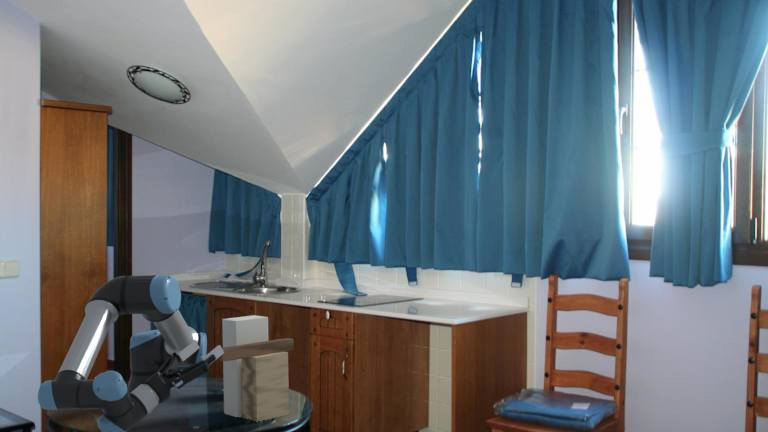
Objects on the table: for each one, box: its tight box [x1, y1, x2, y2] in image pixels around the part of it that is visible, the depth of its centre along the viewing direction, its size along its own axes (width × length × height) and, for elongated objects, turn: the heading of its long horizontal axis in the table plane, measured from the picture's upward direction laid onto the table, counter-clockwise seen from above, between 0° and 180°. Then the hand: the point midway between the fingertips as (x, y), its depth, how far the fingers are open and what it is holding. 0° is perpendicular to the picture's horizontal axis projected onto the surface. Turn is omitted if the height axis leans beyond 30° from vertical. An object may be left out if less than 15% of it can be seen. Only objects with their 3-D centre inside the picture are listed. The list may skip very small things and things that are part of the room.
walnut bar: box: [216, 337, 295, 362], centre depth 226 cm, size 4×26×4 cm, turn 134°
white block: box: [221, 314, 270, 418], centre depth 234 cm, size 8×12×30 cm, turn 134°
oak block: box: [241, 351, 290, 423], centre depth 228 cm, size 8×12×20 cm, turn 134°
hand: (209, 346), depth 214 cm, fingers open, 13 cm apart
